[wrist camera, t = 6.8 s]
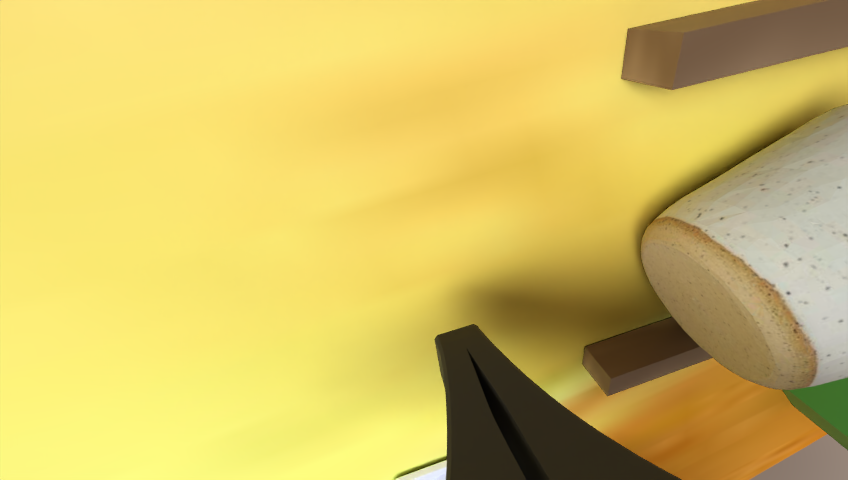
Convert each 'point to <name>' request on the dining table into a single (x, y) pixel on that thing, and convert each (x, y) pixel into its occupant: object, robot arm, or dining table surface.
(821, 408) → the hardback book
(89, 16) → the dining table surface
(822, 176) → the ceramic mug
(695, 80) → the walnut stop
